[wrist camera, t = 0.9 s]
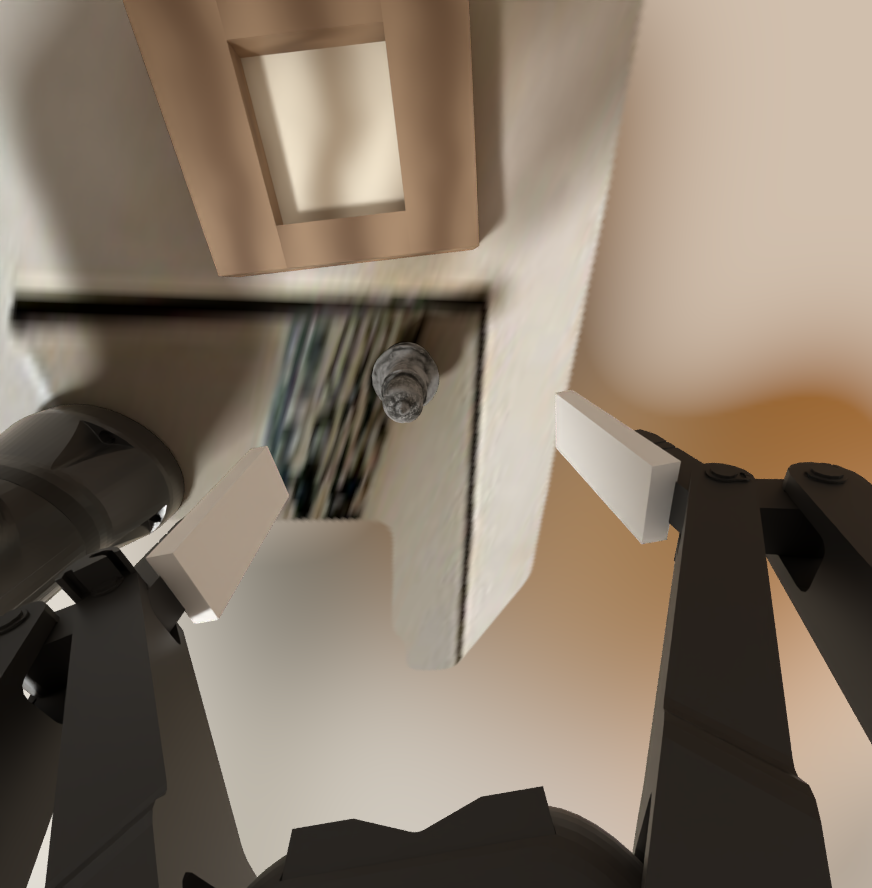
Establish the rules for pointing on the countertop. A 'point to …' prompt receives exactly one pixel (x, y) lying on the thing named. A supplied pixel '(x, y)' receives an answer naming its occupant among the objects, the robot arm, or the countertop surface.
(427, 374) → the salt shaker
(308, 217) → the wooden frame
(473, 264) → the countertop surface
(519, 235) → the countertop surface
